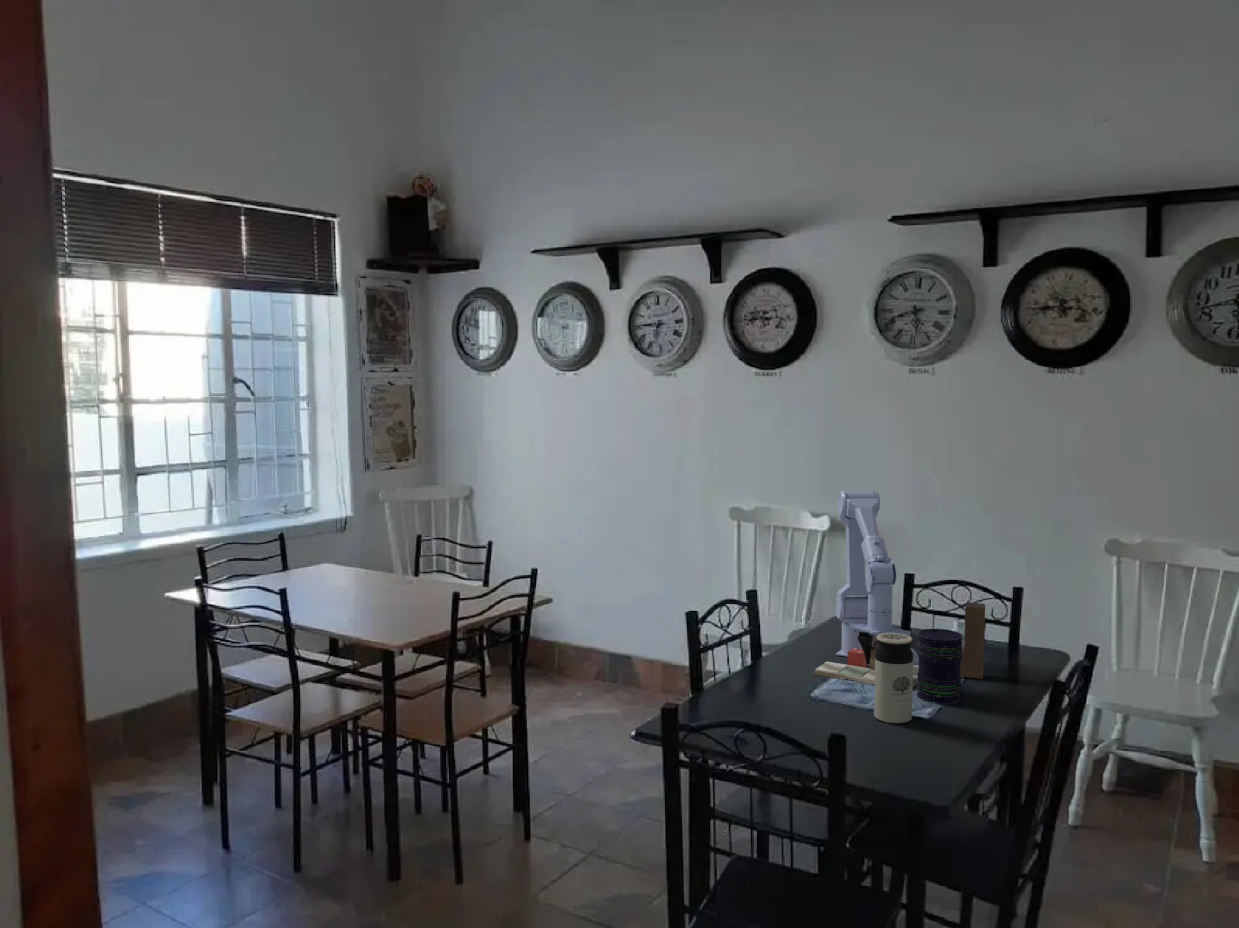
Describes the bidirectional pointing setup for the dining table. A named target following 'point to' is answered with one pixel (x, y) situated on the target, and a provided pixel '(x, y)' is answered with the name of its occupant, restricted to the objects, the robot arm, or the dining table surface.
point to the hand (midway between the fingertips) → (878, 664)
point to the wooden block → (973, 641)
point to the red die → (856, 657)
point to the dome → (915, 658)
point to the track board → (849, 672)
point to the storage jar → (939, 666)
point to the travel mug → (893, 678)
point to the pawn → (873, 655)
